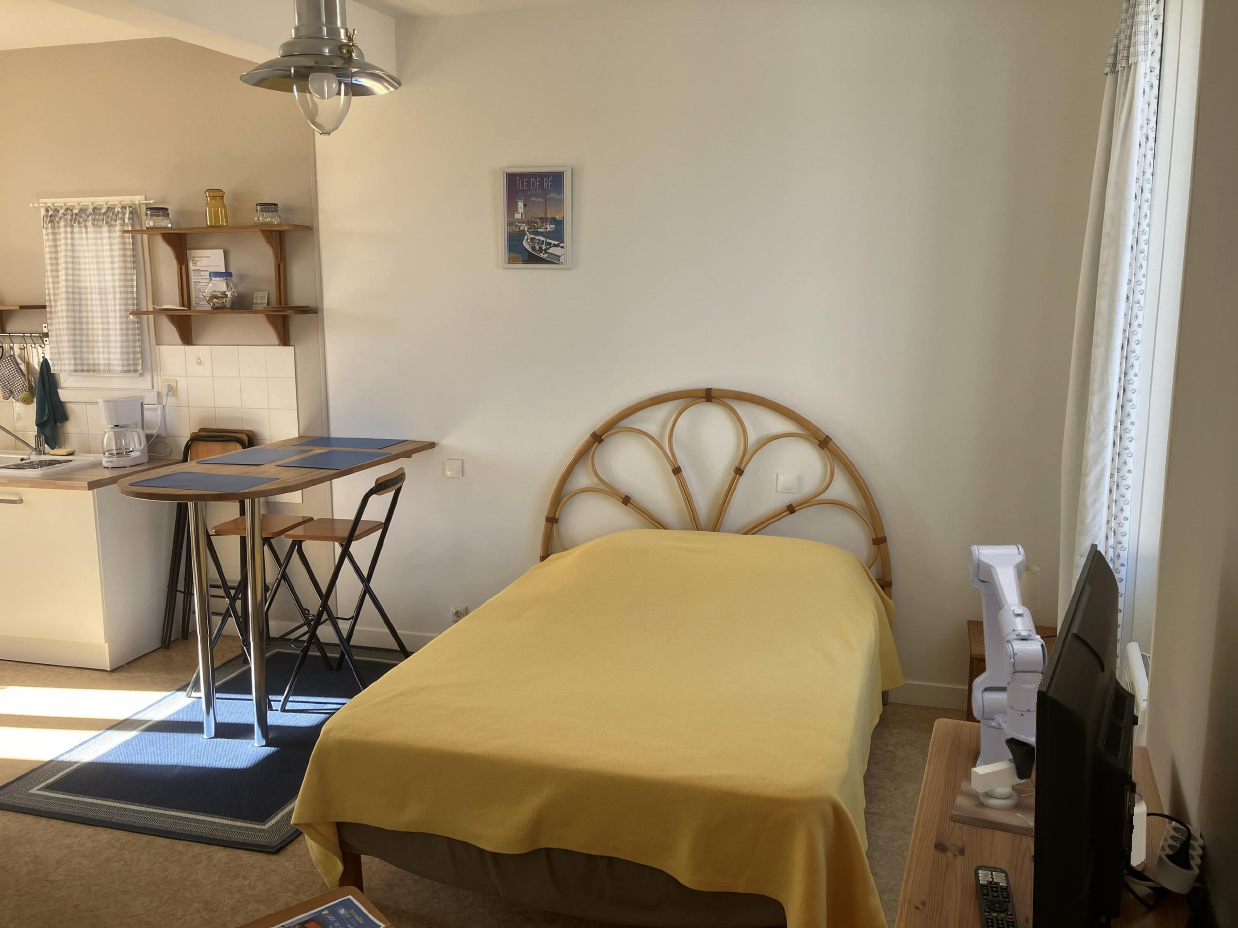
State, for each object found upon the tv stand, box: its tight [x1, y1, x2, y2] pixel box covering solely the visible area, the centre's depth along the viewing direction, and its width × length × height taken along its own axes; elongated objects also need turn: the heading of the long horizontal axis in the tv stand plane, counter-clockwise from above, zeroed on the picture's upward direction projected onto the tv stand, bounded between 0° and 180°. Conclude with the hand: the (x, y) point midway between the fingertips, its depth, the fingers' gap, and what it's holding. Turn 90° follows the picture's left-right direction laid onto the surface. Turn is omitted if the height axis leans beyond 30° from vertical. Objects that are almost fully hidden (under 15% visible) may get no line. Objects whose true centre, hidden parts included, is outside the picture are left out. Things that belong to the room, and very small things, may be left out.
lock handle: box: [970, 758, 1027, 798], centre depth 172 cm, size 10×4×5 cm, turn 110°
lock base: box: [950, 776, 1035, 837], centre depth 172 cm, size 15×14×3 cm
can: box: [1129, 790, 1147, 866], centre depth 153 cm, size 6×6×12 cm
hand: (1024, 778), depth 171 cm, fingers closed
